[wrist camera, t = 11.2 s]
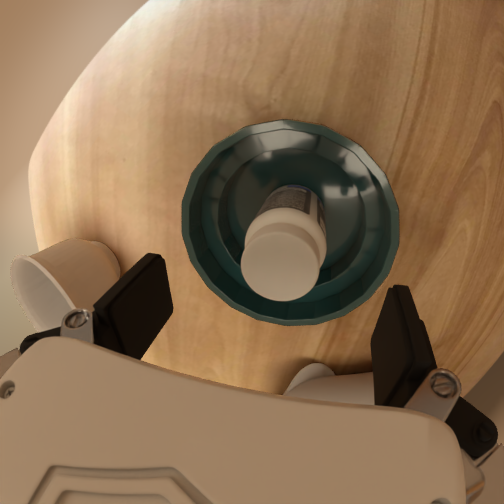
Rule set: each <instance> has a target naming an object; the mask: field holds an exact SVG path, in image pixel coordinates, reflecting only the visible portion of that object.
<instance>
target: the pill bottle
mask: <svg viewBox="0 0 504 504" xmlns="http://www.w3.org/2000/svg"><path fill="white" fill-rule="evenodd" d="M326 250H327V246H326V224H325V210H324V206H323V204H322V202H321V200H320V199H319V197H318V196H317V195H316V194H315V193H314V192H313V191H311V190H310V189H308V188H306V187H304V186H300V185H285V186H282V187H280V188H278V189H276V190H275V191H273V192H272V193H271V194H270V195H269V196H268V198H267V199H266V201H265V203H264V204H263V206H262V207H261V209H260V210H259V212H258V213H257V215H256V217H255V218H254V220H253V222H252V223H251V224H250V226H249V228H248V231H247V234H246V237H245V249H244V251H243V254H242V258H241V270H242V274H243V277H244V279H245V281H246V282H247V284H248V285H249V286H250V287H251V289H253V290H254V291H255V292H256V293H258V294H259V295H261V296H263V297H265V298H268V299H271V300H275V301H290V300H294V299H297V298H300V297H302V296H304V295H305V294H307V293H308V292H309V291H310V290H311V289H312V288H313V286H314V285H315V283H316V281H317V279H318V276H319V269H320V267H321V266H322V264H323V262H324V259H325V256H326Z"/></svg>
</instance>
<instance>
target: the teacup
mask: <svg viewBox="0 0 504 504" xmlns="http://www.w3.org/2000/svg"><path fill="white" fill-rule="evenodd" d="M119 278H120V266H119V263H118V260H117V258H116V257H115V255H114V253H113V252H112V251H111V250H110V249H109V248H108V247H107V246H106V245H105V244H103V243H101V242H98V241H91V242H89V241H87V240H84V239H75V238H74V239H68V240H65V241H62V242H60V243H57V244H55V245H53V246H51V247H49V248H47V249H45V250H43V251H40V252H39V253H36V254H34V255H31V256H26V255H17V256H15V258H14V259H13V261H12V265H11V281H12V285H13V289H14V292H15V295H16V297H17V300H18V302H19V304H20V306H21V308H22V309H23V311H24V313H25V315H26V316H27V318H28V319H29V321H30V322H31V323H32V325H33V326H34V327H35V329H36V330H37V331H38V332H42V331H46V330H50V329H53V328H57V327H60V326H61V323H62V319H63V318H64V316H65V315H66V314H67V313H68V312H70V311H72V310H74V309H77V308H87V309H89V310H90V311H91V312H93V311H94V307H93V305H94V304H95V303H96V302H97V301H98V300H99V299H100V298H101V297H102V296H103V295H104V294H105V293H106V292H107V291H108V290H109V289H110V288H111V287H112V286H113V285H114V284H115V283H116V282H117V281H118V280H119Z"/></svg>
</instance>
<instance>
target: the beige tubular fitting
mask: <svg viewBox="0 0 504 504" xmlns="http://www.w3.org/2000/svg"><path fill="white" fill-rule="evenodd" d="M283 395H284V396H291V397H298V398H305V399H313V400H322V401H331V402H341V403H352V404H365V405H375V404H374V383H373V372H368V373H359V374H350V375H339V376H335V374H334V372H333V371H332V370H331V369H330V368H329V367H327V366H326V365H324V364H321V363H313V364H310V365H307V366H306V367H304V368H303V369H302V370H300V371H299V372H298V374H297V375H296V376H295V377H294V379H293V380H292V381H291V383H290V384H289V386H288V387H287V389H286V390H285V392H284V393H283Z"/></svg>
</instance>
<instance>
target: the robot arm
mask: <svg viewBox="0 0 504 504" xmlns="http://www.w3.org/2000/svg"><path fill="white" fill-rule="evenodd" d="M93 307H94V311H93V312H91V311H90V310H89V309H87V308H77V309H74V310H72V311H70V312H68V313H67V314H66V315H65V316H64V318H63V319H62V323H61V326H60V327H57V328H53V329H50V330H46V331H42V332H39V333H35V334H32V335H29V336H27V337H26V338H25V339H24V340H23V342H22V343H21V345H20V350H18V348H16V349H13V350H12V351H10V352H8V353H6V354H4V355H2V356H0V504H504V446H503V445H502V444H500V445H498V444H497V438H498V432H497V428H496V426H495V424H494V423H493V422H492V421H491V420H490V419H489V418H488V417H486V416H485V415H484V414H483V413H481V412H480V411H479V410H477V409H476V408H475V407H474V406H472V405H471V404H470V403H468V402H467V401H466V400H464V399H463V398H462V397H461V396H460V393H461V383H460V380H459V379H458V377H457V376H456V375H455V374H454V373H453V372H451V371H449V370H447V369H443V368H438V369H437V365H436V361H435V358H434V354H433V351H432V347H431V344H430V341H429V337H428V334H427V331H426V328H425V325H424V322H423V321H422V320H420V319H419V315H418V312H417V310H416V307H415V304H414V301H413V298H412V295H411V292H410V290H409V287H408V286H404V285H394V286H393V288H389V289H388V291H387V294H386V297H385V301H384V304H383V307H382V310H381V313H380V315H379V318H378V321H377V324H376V327H375V329H374V332H373V335H372V338H371V355H372V368H373V383H374V404H375V405H365V404H352V403H341V402H331V401H322V400H313V399H305V398H298V397H291V396H284V395H278V394H272V393H266V392H261V391H255V390H250V389H245V388H240V387H236V386H231V385H227V384H222V383H218V382H214V381H210V380H206V379H202V378H198V377H194V376H190V375H187V374H183V373H180V372H176V371H173V370H169V369H166V368H162V367H159V366H156V365H153V364H150V363H147V362H144V361H141V358H142V357H143V355H144V354H145V352H146V351H147V349H148V348H149V346H150V345H151V344H152V342H153V341H154V339H155V338H156V336H157V335H158V333H159V332H160V330H161V329H162V328H163V326H164V325H165V323H166V322H167V320H168V319H169V318H170V316H171V315H172V313H173V303H172V298H171V292H170V287H169V281H168V276H167V270H166V264H165V260H164V259H163V258H162V256H161V255H160V254H153V253H147V254H146V255H145V256H144V257H143V258H141V259H140V260H139V261H138V262H137V263H136V264H135V265H134V266H133V267H132V268H131V269H130V270H129V271H127V272H126V273H125V274H124V275H123V276H122V277H121V278H120V279H119V280H118V281H117V282H116V283H115V284H114V285H113V286H112V287H111V288H110V289H109V290H108V291H107V292H106V293H105V294H104V295H103V296H102V297H101V298H100V299H99V300H98V301H97V302H96V303H95V304H94V305H93Z"/></svg>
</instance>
